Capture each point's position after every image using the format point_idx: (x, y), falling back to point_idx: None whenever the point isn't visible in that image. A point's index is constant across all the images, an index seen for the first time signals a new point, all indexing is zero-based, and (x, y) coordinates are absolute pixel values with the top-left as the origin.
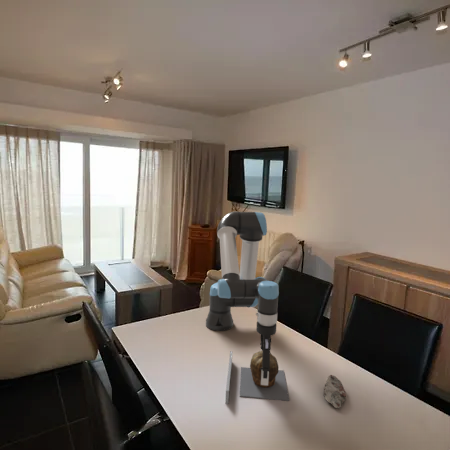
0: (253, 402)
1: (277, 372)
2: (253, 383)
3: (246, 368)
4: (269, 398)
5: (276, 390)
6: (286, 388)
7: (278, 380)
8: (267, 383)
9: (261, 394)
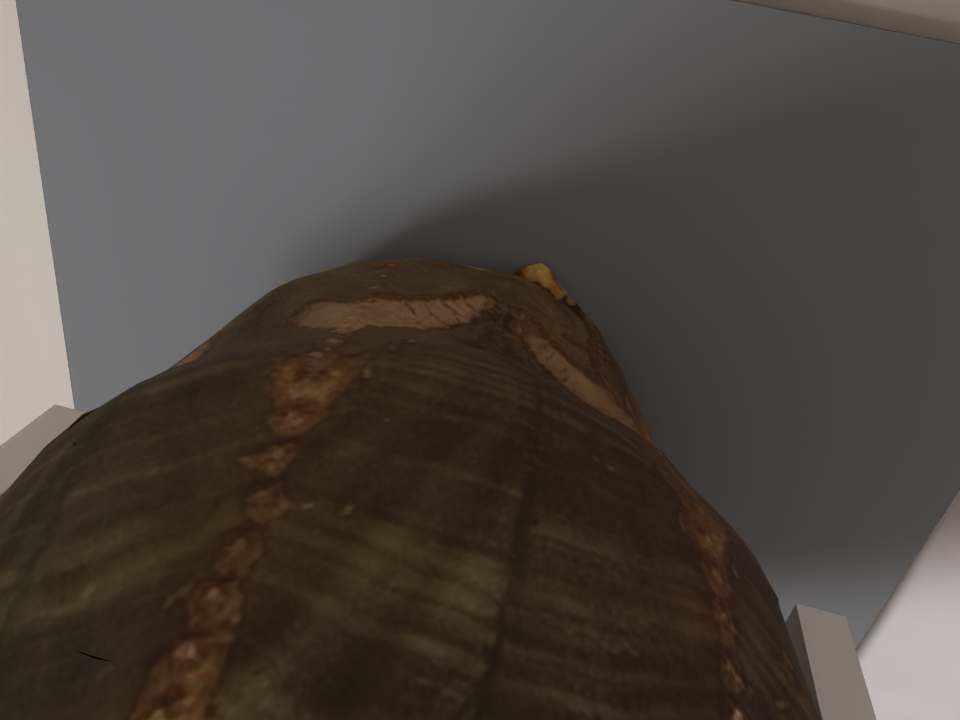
0: (928, 707)
1: (626, 468)
2: None
3: None
4: (949, 492)
5: (758, 296)
6: (737, 23)
7: (410, 137)
8: (851, 674)
9: (801, 580)
